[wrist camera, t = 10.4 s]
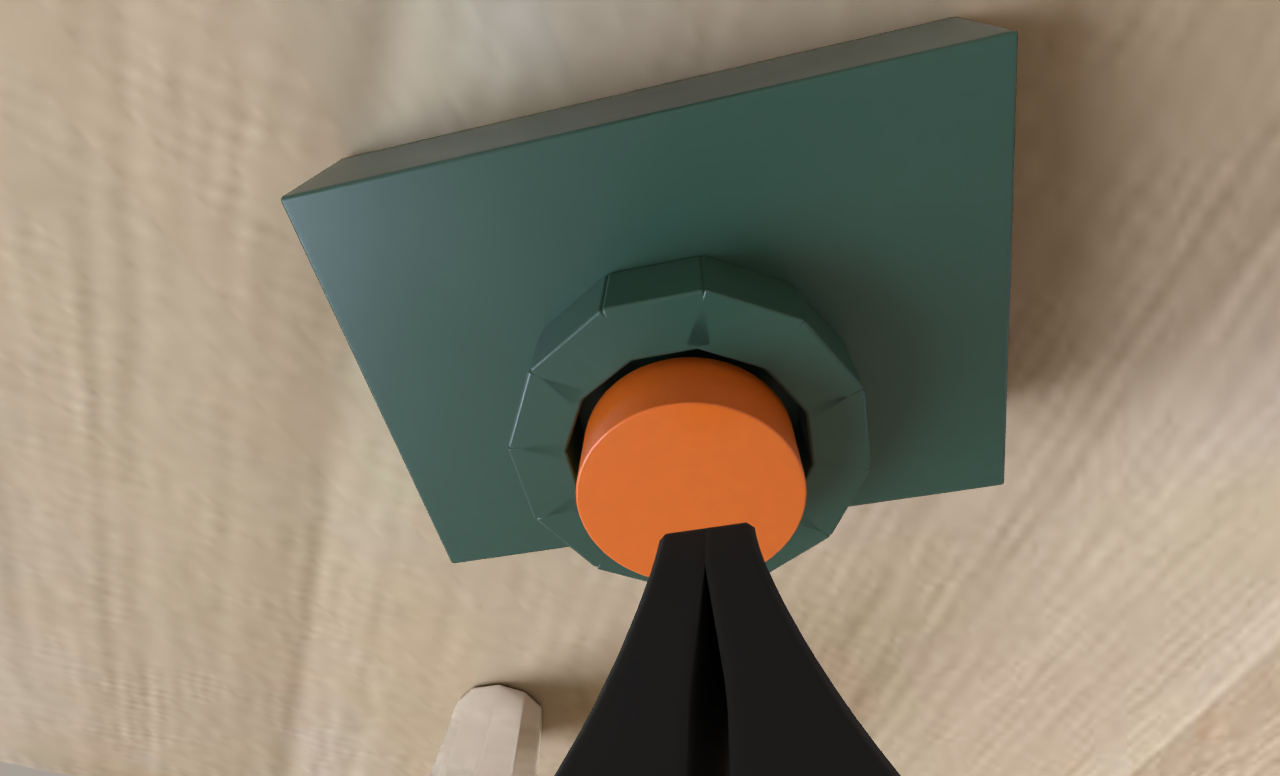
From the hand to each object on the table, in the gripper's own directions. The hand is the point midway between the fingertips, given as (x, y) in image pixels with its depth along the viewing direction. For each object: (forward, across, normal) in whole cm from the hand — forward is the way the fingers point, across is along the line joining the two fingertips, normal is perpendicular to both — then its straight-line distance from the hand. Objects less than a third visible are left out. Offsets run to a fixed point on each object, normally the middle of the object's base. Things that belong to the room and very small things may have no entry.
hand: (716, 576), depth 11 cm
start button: (+5, +1, +1) cm, 5 cm away
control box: (+9, 0, -1) cm, 9 cm away
